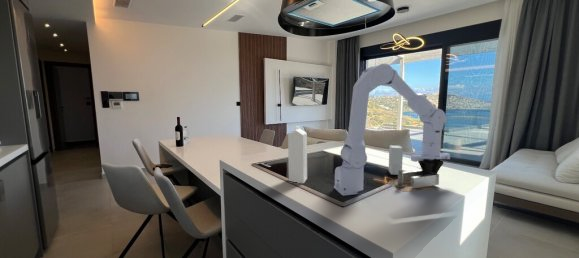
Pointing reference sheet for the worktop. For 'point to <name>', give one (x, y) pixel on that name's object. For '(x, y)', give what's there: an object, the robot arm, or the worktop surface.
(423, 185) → the c link
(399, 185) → the stand
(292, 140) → the milk
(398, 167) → the skincare box
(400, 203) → the worktop surface
